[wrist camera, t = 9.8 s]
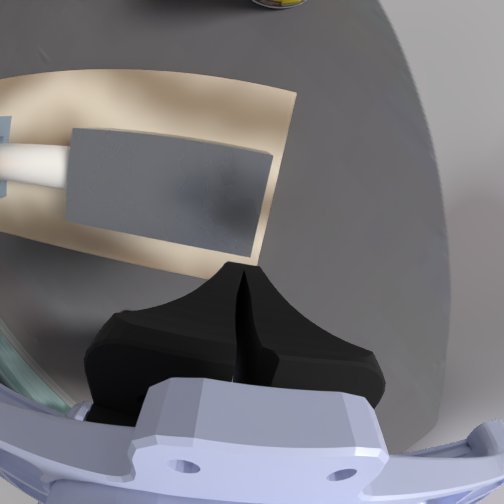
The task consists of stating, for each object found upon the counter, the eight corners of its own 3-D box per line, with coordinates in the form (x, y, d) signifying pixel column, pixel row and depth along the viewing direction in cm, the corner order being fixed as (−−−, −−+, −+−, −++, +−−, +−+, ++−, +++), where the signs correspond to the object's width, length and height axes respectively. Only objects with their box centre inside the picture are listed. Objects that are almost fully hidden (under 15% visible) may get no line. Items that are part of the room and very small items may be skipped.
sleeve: (250, 229, 21) (250, 257, 16) (101, 202, 20) (65, 221, 15) (267, 151, 19) (273, 155, 14) (110, 127, 18) (72, 127, 13)
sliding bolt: (143, 195, 18) (89, 228, 12) (-22, 172, 17) (-81, 192, 10) (149, 152, 17) (94, 163, 11) (-21, 141, 16) (-81, 154, 9)
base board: (251, 281, 23) (251, 287, 22) (-18, 221, 21) (-24, 224, 20) (294, 95, 18) (296, 92, 17) (-10, 83, 16) (-16, 82, 15)
